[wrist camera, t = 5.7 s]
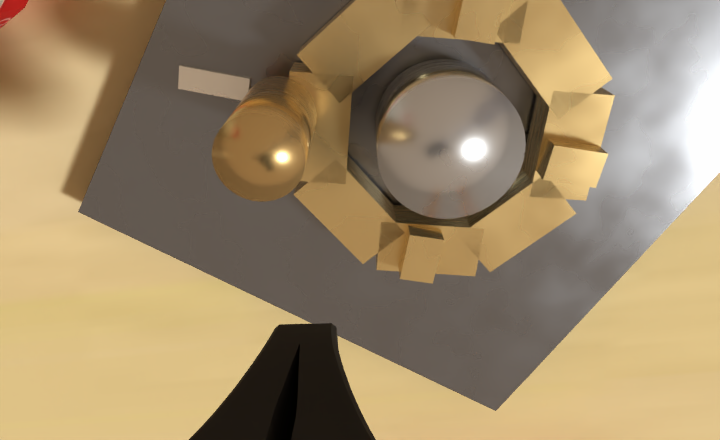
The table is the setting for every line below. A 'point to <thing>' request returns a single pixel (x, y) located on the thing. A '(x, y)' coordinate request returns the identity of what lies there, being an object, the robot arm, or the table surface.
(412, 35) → the ring nut
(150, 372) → the table surface
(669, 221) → the housing
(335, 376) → the robot arm
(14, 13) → the kitchen timer
